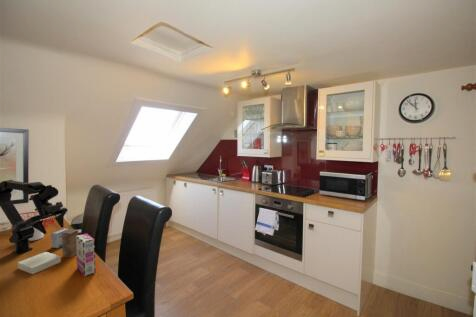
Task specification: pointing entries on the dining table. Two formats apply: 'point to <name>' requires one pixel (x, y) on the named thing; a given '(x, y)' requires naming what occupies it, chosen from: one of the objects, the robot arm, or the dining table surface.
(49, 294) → the dining table surface
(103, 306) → the dining table surface
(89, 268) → the candy bar box
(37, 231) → the beverage can
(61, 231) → the medicine box
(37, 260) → the sage base
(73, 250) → the walnut block
